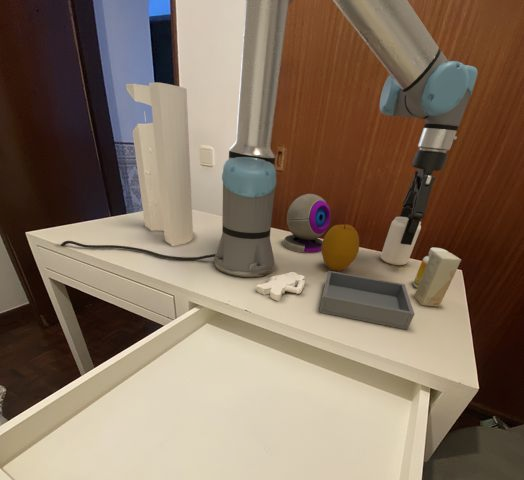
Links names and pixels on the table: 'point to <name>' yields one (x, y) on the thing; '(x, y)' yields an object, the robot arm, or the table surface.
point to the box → (436, 278)
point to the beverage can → (398, 243)
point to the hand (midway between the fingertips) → (402, 237)
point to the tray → (367, 300)
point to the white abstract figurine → (282, 285)
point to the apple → (340, 247)
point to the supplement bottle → (423, 265)
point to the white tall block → (164, 161)
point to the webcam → (307, 223)
